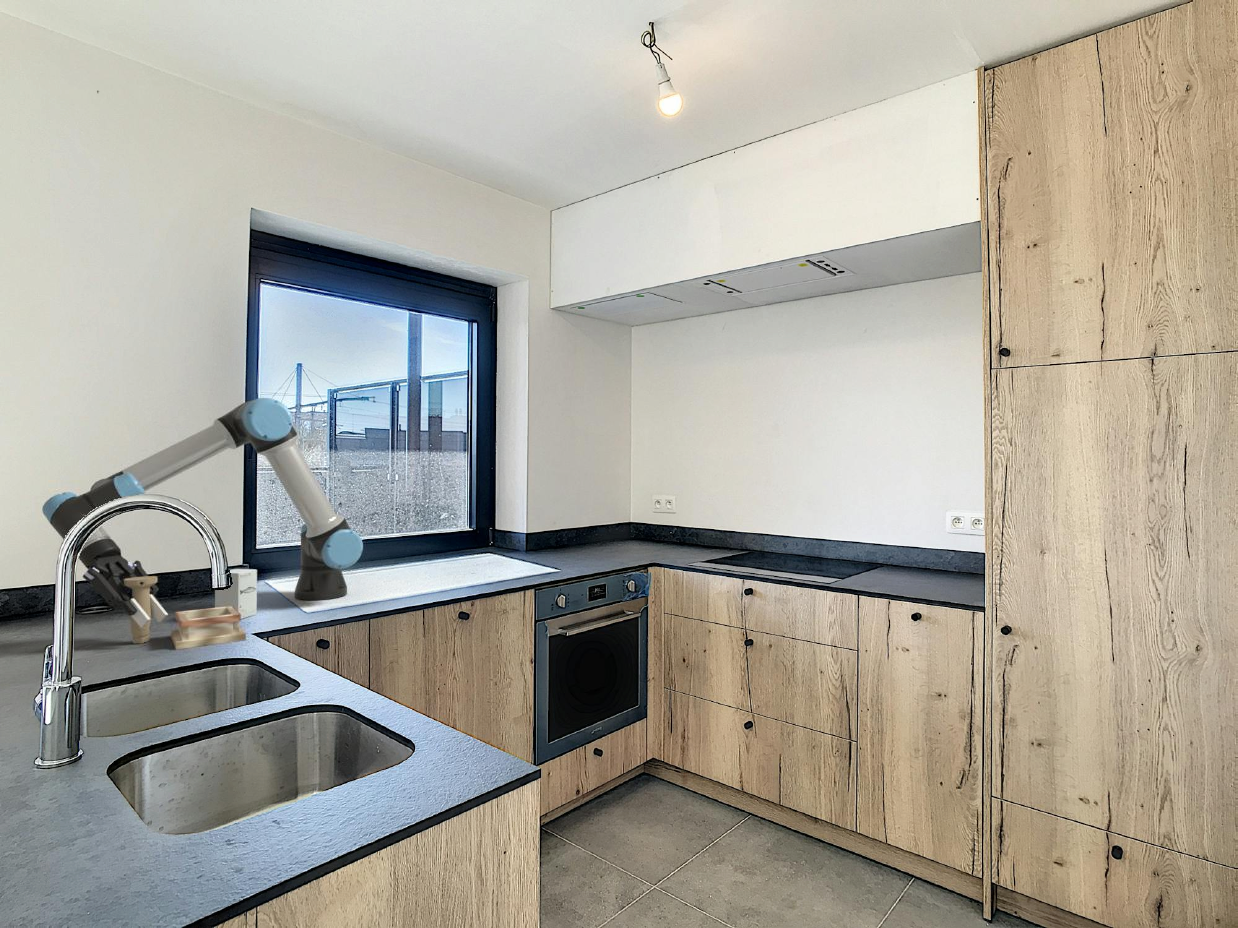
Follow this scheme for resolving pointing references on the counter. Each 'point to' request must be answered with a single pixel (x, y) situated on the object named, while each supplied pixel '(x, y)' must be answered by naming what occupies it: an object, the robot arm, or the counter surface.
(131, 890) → the counter surface
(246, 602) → the supplement box
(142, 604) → the handle
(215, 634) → the board
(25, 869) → the counter surface
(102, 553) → the robot arm
